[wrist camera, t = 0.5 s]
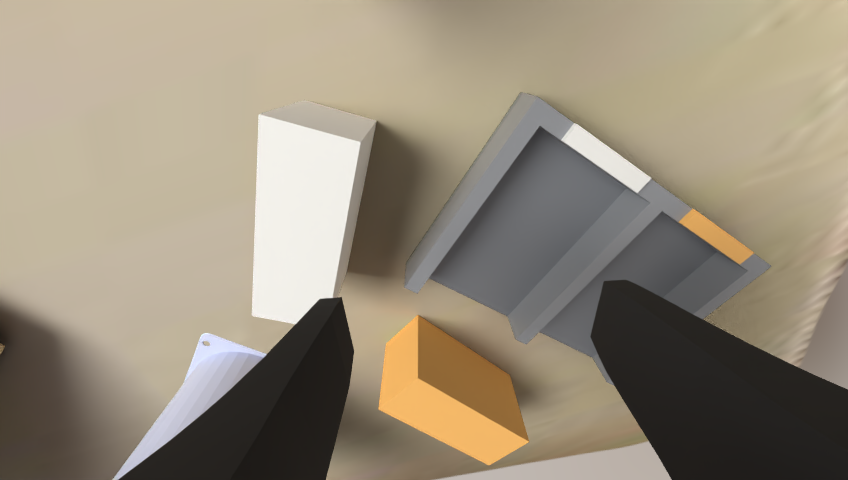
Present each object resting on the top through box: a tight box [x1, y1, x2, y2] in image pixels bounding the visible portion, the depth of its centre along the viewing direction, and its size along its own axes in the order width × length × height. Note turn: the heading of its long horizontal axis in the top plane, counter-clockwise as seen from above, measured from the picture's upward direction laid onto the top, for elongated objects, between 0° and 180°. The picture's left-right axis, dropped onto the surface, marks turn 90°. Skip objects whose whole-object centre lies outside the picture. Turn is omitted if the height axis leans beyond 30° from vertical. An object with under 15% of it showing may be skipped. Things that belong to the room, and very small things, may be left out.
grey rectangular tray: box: [404, 92, 771, 386], centre depth 18 cm, size 11×16×3 cm
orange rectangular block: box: [379, 315, 529, 465], centre depth 21 cm, size 9×3×5 cm, turn 49°
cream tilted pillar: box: [252, 100, 377, 324], centre depth 15 cm, size 9×3×5 cm, turn 164°
